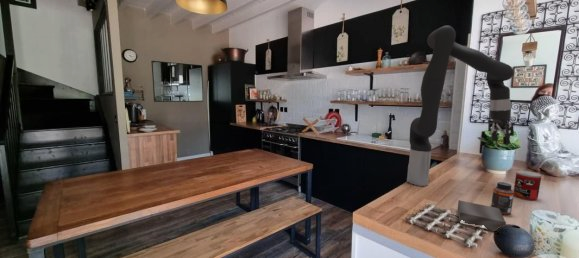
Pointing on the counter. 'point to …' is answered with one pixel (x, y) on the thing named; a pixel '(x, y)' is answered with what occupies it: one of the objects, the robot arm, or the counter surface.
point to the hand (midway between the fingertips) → (500, 142)
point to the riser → (480, 215)
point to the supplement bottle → (503, 197)
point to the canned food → (527, 185)
